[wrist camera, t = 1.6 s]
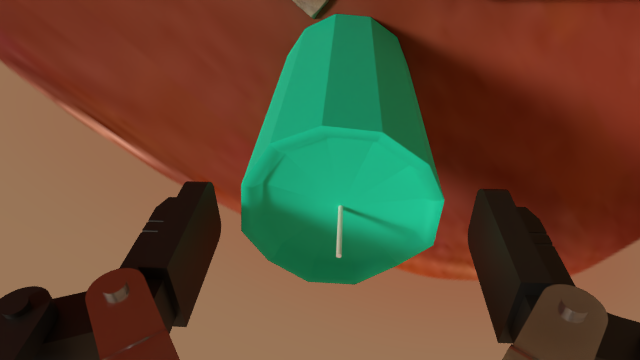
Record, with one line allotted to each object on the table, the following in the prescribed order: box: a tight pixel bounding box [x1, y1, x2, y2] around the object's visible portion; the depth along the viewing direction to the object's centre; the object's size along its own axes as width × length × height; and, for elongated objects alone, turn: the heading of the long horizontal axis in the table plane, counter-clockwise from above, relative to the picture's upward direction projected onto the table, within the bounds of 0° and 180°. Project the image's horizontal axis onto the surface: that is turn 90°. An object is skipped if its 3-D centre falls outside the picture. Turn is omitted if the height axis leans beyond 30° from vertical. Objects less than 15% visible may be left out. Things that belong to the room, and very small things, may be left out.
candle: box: [241, 14, 444, 284], centre depth 16 cm, size 6×6×12 cm
